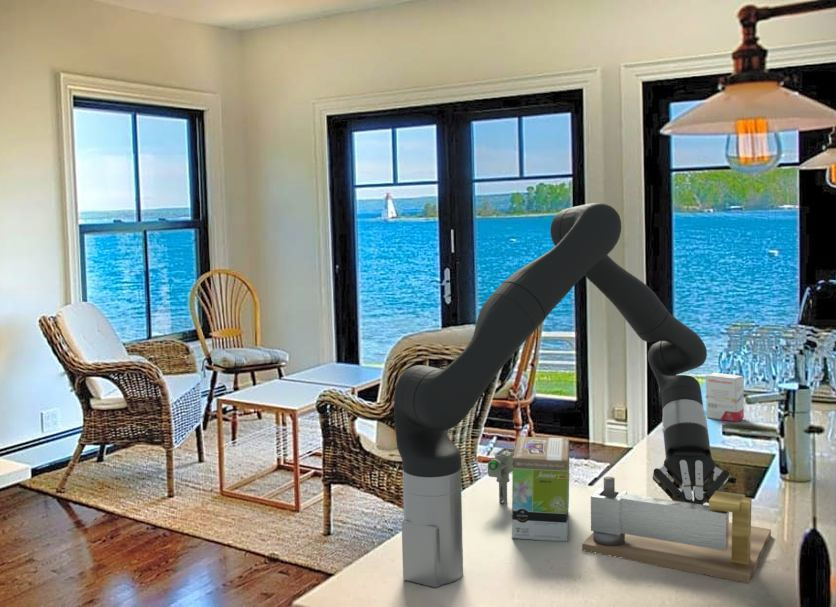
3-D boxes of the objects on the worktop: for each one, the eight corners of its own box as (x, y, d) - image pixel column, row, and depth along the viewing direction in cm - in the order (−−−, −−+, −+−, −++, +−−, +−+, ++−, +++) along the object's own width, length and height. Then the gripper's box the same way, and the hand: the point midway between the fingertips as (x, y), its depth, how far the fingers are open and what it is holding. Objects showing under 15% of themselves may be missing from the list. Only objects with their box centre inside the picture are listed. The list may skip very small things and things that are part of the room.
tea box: (569, 542, 145) (569, 459, 143) (510, 540, 147) (510, 457, 145) (569, 511, 160) (569, 435, 158) (516, 509, 161) (515, 434, 160)
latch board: (748, 583, 128) (750, 507, 126) (582, 550, 141) (581, 481, 140) (770, 535, 145) (772, 468, 144) (620, 510, 159) (621, 449, 158)
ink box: (744, 419, 224) (745, 375, 223) (736, 422, 221) (736, 378, 219) (713, 414, 230) (714, 371, 229) (704, 417, 227) (705, 374, 226)
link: (590, 530, 141) (590, 496, 141) (599, 521, 145) (599, 487, 145) (724, 553, 131) (725, 516, 130) (729, 542, 135) (730, 506, 134)
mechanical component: (486, 510, 161) (485, 460, 160) (505, 494, 170) (505, 446, 169) (500, 513, 160) (499, 461, 158) (519, 496, 169) (519, 447, 167)
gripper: (648, 420, 146) (656, 513, 135) (727, 421, 144) (742, 516, 133) (645, 441, 152) (652, 532, 141) (721, 442, 150) (734, 535, 139)
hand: (696, 524), depth 137 cm, fingers closed
